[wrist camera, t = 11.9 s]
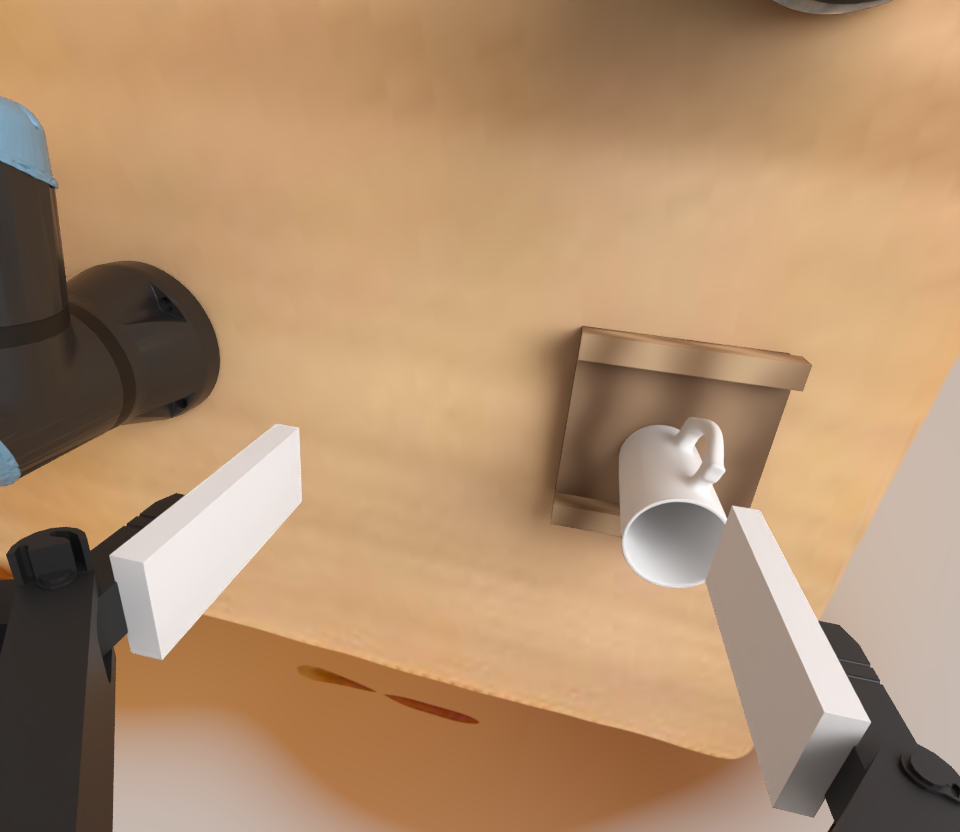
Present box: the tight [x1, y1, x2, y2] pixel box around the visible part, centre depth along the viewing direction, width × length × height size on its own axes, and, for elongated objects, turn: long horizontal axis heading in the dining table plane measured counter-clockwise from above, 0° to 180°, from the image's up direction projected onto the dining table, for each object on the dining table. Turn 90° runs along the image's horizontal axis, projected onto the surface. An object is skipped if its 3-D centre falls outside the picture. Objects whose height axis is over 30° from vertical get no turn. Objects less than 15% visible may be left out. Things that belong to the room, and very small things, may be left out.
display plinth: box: [551, 326, 812, 537], centre depth 45 cm, size 16×17×4 cm
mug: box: [619, 417, 727, 588], centre depth 39 cm, size 10×7×12 cm, turn 159°
